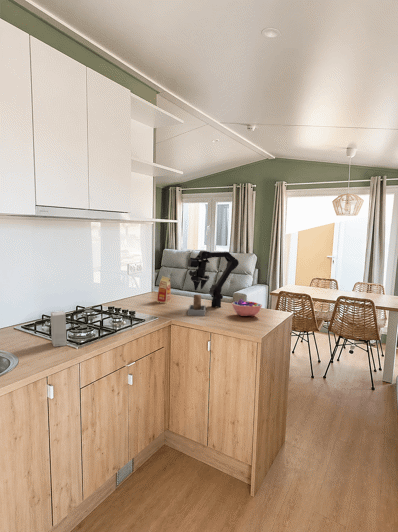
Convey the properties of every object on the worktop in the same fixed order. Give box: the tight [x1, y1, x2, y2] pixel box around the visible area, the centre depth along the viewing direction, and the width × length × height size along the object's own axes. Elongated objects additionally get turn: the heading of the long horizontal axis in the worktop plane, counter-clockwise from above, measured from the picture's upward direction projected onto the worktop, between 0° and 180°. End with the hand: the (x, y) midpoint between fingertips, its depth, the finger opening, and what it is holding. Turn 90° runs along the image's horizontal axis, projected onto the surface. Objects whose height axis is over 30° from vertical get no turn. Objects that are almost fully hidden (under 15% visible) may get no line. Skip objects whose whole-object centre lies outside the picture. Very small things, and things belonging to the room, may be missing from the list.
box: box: [187, 304, 207, 317], centre depth 229 cm, size 11×15×4 cm
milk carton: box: [156, 275, 172, 304], centre depth 260 cm, size 9×9×20 cm
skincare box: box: [50, 310, 68, 348], centre depth 159 cm, size 8×6×15 cm
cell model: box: [231, 298, 263, 317], centre depth 225 cm, size 17×20×11 cm
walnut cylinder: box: [192, 294, 202, 310], centre depth 229 cm, size 5×5×11 cm
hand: (198, 289), depth 244 cm, fingers open, 9 cm apart
